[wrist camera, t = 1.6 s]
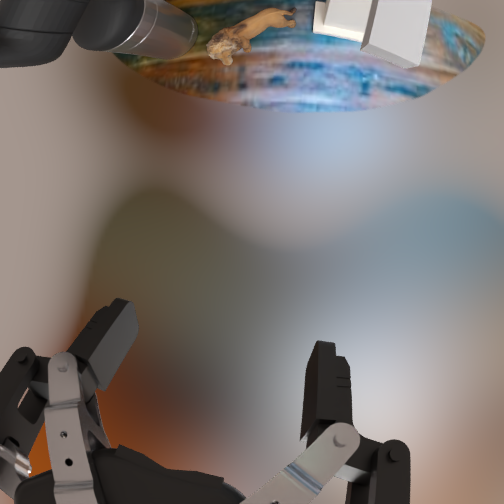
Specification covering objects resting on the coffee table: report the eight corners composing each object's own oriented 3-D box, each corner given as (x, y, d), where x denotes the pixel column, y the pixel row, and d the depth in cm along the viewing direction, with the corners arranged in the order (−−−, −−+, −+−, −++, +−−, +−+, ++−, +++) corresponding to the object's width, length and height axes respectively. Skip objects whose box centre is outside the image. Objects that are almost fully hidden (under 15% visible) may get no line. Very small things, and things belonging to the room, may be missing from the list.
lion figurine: (234, 73, 38) (218, 68, 31) (213, 52, 37) (192, 43, 29) (306, 19, 32) (307, 2, 24) (283, -2, 30) (278, -23, 22)
